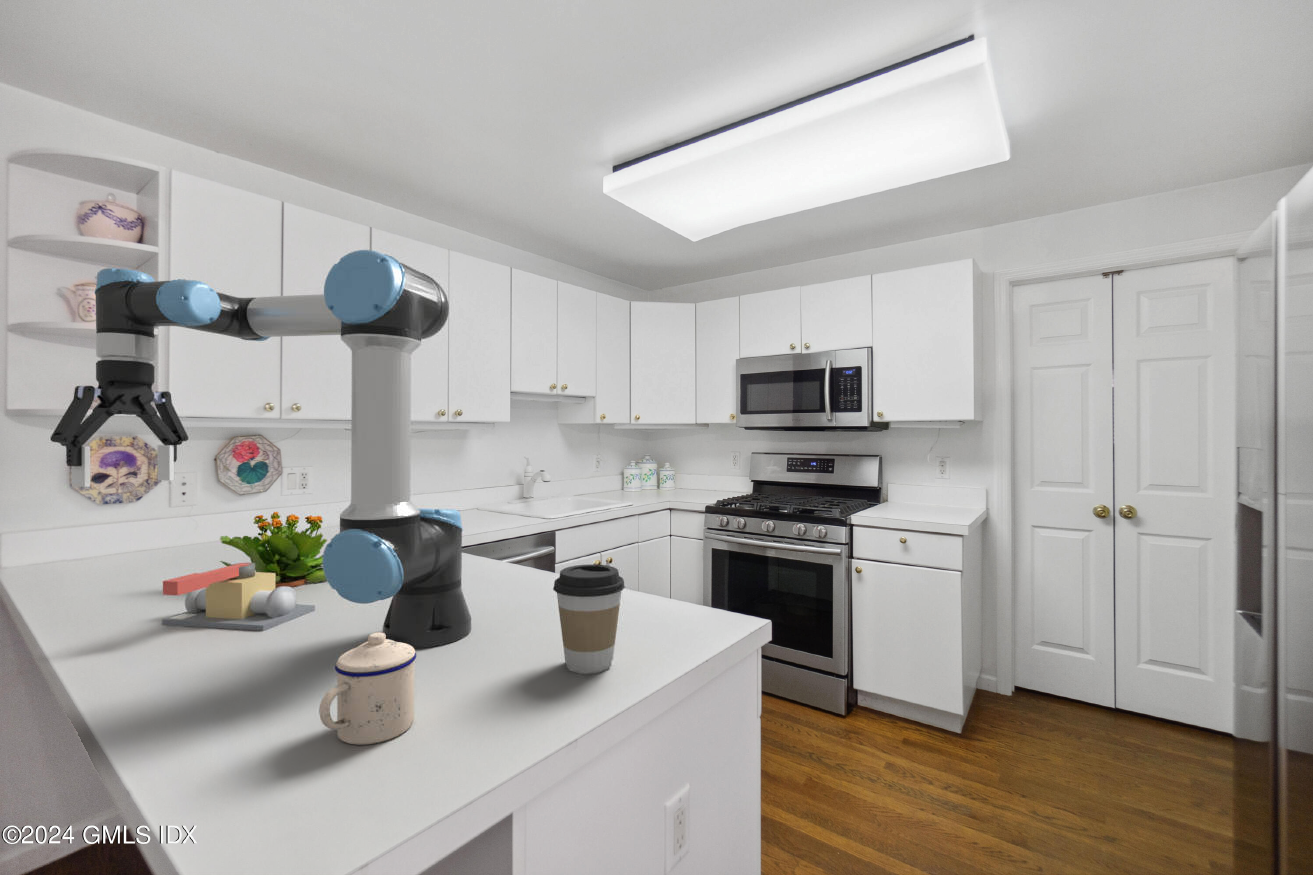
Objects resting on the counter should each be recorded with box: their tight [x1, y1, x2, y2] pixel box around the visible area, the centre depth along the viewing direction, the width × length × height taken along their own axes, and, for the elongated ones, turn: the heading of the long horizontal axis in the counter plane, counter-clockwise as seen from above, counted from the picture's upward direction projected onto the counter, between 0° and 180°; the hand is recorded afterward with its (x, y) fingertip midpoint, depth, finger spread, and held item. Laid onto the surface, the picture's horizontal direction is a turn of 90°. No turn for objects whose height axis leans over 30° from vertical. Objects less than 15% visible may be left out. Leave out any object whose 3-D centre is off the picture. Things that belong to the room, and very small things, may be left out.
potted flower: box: [219, 511, 328, 588], centre depth 141 cm, size 25×24×18 cm
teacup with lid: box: [318, 632, 417, 746], centre depth 71 cm, size 12×9×12 cm
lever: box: [162, 562, 256, 596], centre depth 110 cm, size 17×4×3 cm, turn 171°
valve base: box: [161, 571, 316, 632], centre depth 116 cm, size 22×13×8 cm, turn 81°
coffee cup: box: [552, 563, 626, 675], centre depth 92 cm, size 11×11×15 cm
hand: (126, 483), depth 101 cm, fingers open, 13 cm apart
